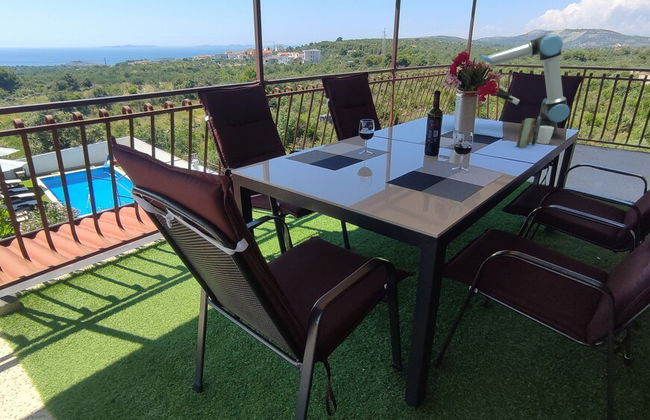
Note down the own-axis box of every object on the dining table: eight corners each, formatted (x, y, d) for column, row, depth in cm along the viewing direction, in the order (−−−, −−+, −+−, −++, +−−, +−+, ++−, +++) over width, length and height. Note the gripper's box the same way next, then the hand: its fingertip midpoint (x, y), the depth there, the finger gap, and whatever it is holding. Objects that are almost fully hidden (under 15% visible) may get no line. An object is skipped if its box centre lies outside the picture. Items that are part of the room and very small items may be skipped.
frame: (532, 143, 231) (539, 116, 224) (535, 144, 230) (542, 116, 223) (518, 147, 223) (525, 118, 216) (522, 148, 222) (528, 119, 215)
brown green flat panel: (528, 143, 231) (533, 118, 225) (529, 143, 230) (535, 119, 224) (516, 145, 225) (522, 120, 219) (518, 145, 224) (524, 121, 218)
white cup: (548, 145, 229) (553, 128, 225) (534, 143, 233) (538, 127, 229) (550, 142, 235) (555, 126, 231) (537, 140, 239) (541, 125, 235)
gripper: (487, 90, 249) (518, 106, 239) (478, 92, 241) (510, 109, 230) (492, 79, 244) (525, 95, 234) (484, 81, 236) (517, 98, 226)
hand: (518, 102), depth 232 cm, fingers closed
